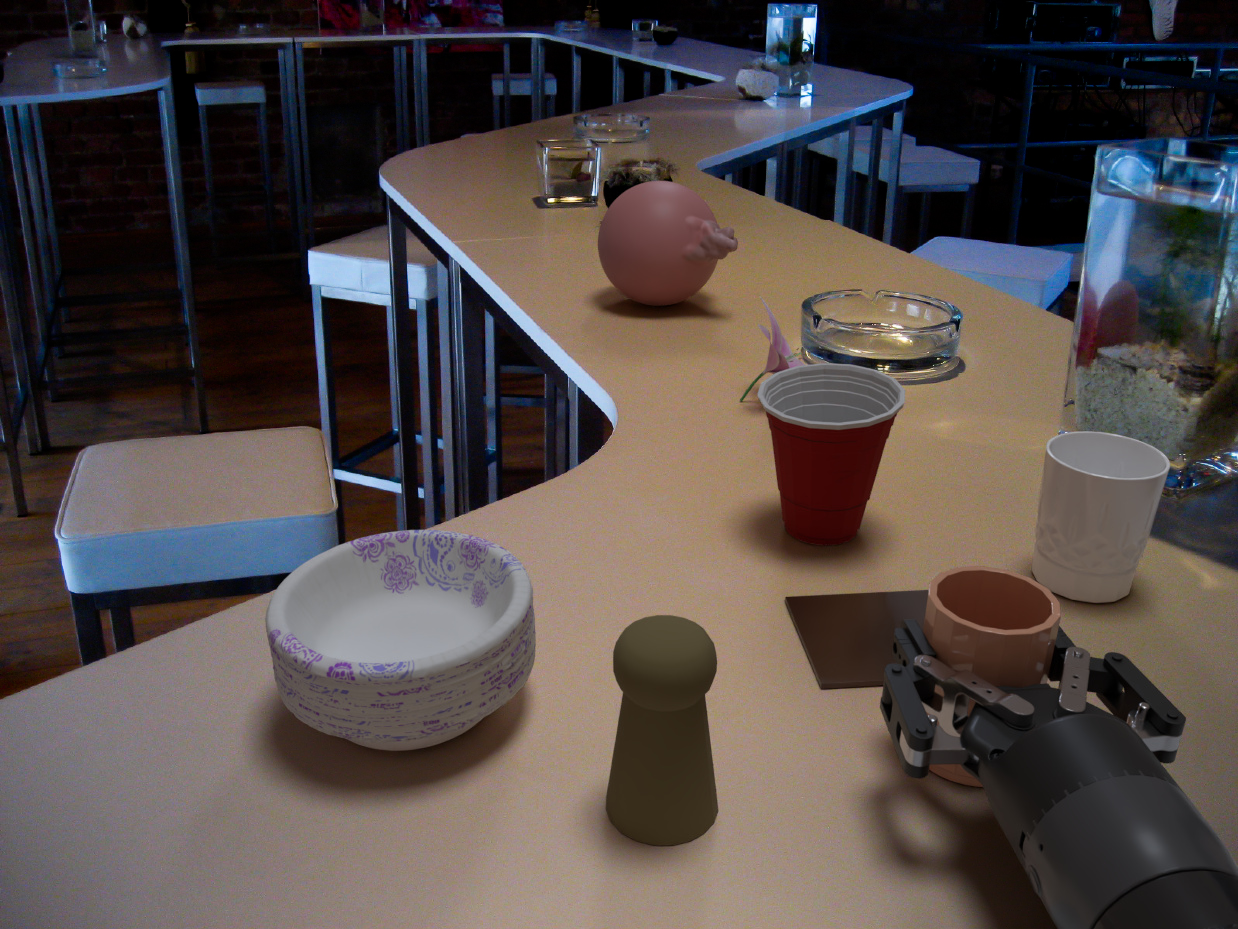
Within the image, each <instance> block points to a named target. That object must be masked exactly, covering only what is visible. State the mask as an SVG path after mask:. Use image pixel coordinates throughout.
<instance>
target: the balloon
mask: <svg viewBox="0 0 1238 929" xmlns="http://www.w3.org/2000/svg"><path fill="white" fill-rule="evenodd" d="M738 247H739V241H738V238H737V237H735V229H734V228H733V227H732V226H725V227H722V228H721V226H720V225H719V224H718V220H717V218H716V216H715V214H714V212H713V210H712V209H711V207H710V205H709V204H708V203H707V201H705V199H704V198H702V197H701V196H700V195H699V194H698V193H697V192H696V191H694V190H692V189H691V188H689V187H687V186H686V185H683V184H680V183H677V182H674V181H668V180H651V181H645V182H642V183H639V184H636V185H634V186H632V187H630V188H628V189H626V190H625V191H624V192H622V193H621V194H620V195H619V196H618V197H616V199H614V200H613V202H612V203H611V204H610V205H609V207H608V208H607V210H606V212H605V213H604V215H603V218H602V220H601V222H600V226H599V229H598V234H597V252H598V253H597V254H598V257H599V262H600V265H601V267H602V270H603V272H604V274H605V276H606V277H607V279H608V280H609V282H610V283H611V284H612V285H613V287H614V288H615V289H616V290H617V291H618V292H620V294H622V295H623V296H625V297H627V298H628V299H630V300H631V301H634V302H636V303H639V304H642V305H647V306H651V307H664V306H670V305H671V306H672V305H675V304H679V303H681V302H684V301H686V300H688V299H689V298H691V297H692V296H694V295H696V294H697V293H698V292H699V291H701V289H703V287H704V286H706V284H707V283H708V282H709V280H710V279H711V277H712V275H713V274H714V272H715V270H716V267H717V265H718V263H719V260H724V259H726V258H727V257H728V255H729V253H732V252H733V253H734V252H736V251H737V250H738Z"/></svg>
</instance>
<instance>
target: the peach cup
mask: <svg viewBox="0 0 1238 929" xmlns="http://www.w3.org/2000/svg"><path fill="white" fill-rule="evenodd" d="M927 590H928V596H927V603H926V610H925V617H924V624H923V633H924V635H925V637H926V638H927V640H928V642H929V643H930V645H931V646H932V648H933V649H934V651H935V653H936V659H937V660H938V661H940V662H942V663H943V664H945V665H946V666H948V667H950V668H951V669H953V670H955V671H956V672H961V671H962V670H969V671H971V672H972V673H974V674H976V675H977V676H979V677H981V678H982V679H984V680H986V681H987V682H989V683H990V684H992V685H994V686H1010V687H1025V686H1029V685H1033V684H1046V683H1048V681H1049V679H1048V676H1049V671H1050V666H1051V661H1052V656H1053V652H1054V647H1055V642H1056V637H1057V632H1058V628H1059V626H1060V622H1061V619H1062V618H1061V617H1062V612H1061V603H1060V601H1059V600H1058V598H1057V597H1056V596H1055V595H1054V593H1053V592H1051V591H1050V590H1049V589H1048V588H1046V587H1044V586H1043V585H1042V584H1040V583H1039V582H1038V581H1037V580H1035V579H1033V578H1031V577H1029V576H1026V575H1023V574H1020V573H1017V572H1015V571H1012V570H1008V569H1005V568H998V567H992V566H985V565H971V566H957V567H954V568H950V569H948V570H945V571H941V572H939V573H938V574H937V575H936V576H935V577H934V578H932V579H931V581H929V584H928V589H927ZM935 692H936V693H938V694H939V695H941V696H942V697H944V692H943V690H942V688H940V687H939V686H937V685H935ZM975 703H976V702H975V701H974V700H972V699H971V698H970V701H969V707H968V717H969V715H970V713H971V711H972V709H973V707H974V705H975ZM926 713H927V712H926ZM927 715H930V714H929V713H927ZM937 724H938V725H939V722H938V721H937ZM939 726H940V725H939ZM929 771H931V772H932V773H933V774H936V775H937V776H939V777H941V778H942V779H943V778H944V779H946V780H948V781H950V782H954V783H957V784H960V785H965V786H970V787H978V788H979V787H980V788H983V786H982V784H981V783H980V782H979V781H978V780H977V779H976V778H975V777H973V776H972V775H970V774H969V773H968V772H966V771H965V770H964V769H963V768H962V766H961V765H960V764H940V765H929Z"/></svg>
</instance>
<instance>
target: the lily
mask: <svg viewBox="0 0 1238 929" xmlns="http://www.w3.org/2000/svg"><path fill="white" fill-rule="evenodd" d="M759 298H760V300H761V302H762V304H763V306H764V309H765V311H766V312H767V316H768V318H769V322H770V327H771V333H770V331H769V329H767V327H765V326H764V325H762V324H759V323H758V324H757V327H758V328H759V330H760V331H761V332H762V333H763V335H764V336H765V337H766V339H767V340H768V342H769V348H768V355H767V359H766V365H765V368H764V370H763V371H762V372H761V373H760V374H759V375H757V377H756V378H754V380H753V381H752V382H750V384H749V386H748V387H747V388H746V390H745V392H744V393H743V394H742V396H741V397H740V399H739V401H740V402H743V401H744V400H745V398H746V397H747V395H748V394H749V393H750V391H751V390H752V388H753V387H754V386H755V384H756V383H758V382H759V380H760V379H761V378H762V377H764V376H765V375H766V374H771V375H773V374H775V373H777V372H780V371H783V370H786V369H790V368H793V367H796V366H803V365H805V363H804V362H803V361H802V359H803V357H798V356H806V353H804V351H801V352H799V353H797V352H798V350H799V349H800V347H797V348H796V351H794V352H793V351H792V348H791V346H790V344H789V342H788V340H787V339H786V338H785V335H783V334H782V330H781V327H780V324H779V323H778V320H777V318H776V316H775V315H774V313H773V311H772V310H771V308H770V307H769V305H768V304H767V303H766V301H765V300H764V299H763V297H762V296H759ZM771 337H772V340H771ZM771 341H772V342H771Z"/></svg>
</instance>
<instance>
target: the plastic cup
mask: <svg viewBox="0 0 1238 929" xmlns="http://www.w3.org/2000/svg"><path fill="white" fill-rule="evenodd" d="M906 390H907V389H905V388H904V387H903V385H902V384H901V383H900V382H899V381H898V380H897V379H896V378H895V377H892V376H890V375H889V374H886V373H884V372H882V371H879V370H877V369H874V368H869V367H865V366H860V365H855V364H848V363H827V362H826V363H825V362H822V363H814V364H813V363H812V364H804V365H803V366H796V367H793V368H790V369H786V370H783V371H780V372H777V373H775V374H771V375H770V376H769V377H767V378H766V379H765V380H763V381H762V382H761V383H760V385H759V388H758V390H757V391H758V392H757V394H756V396H757V399H758V401H759V403H761V406H762V407H763V409H764V411H765V416H766V419H767V422H768V428H769V430H770V433H771V434H770V436H771V444H772V450H773V460H774V466H775V467H774V468H775V473H776V474H775V475H776V484H777V490H778V491H779V498H780V499H779V500H780V509H781V519H782V521H783V527H784V529H785V530H786V532H787V534H788V535H790V536H791V537H793V538H794V539H796V540H797V541H800V542H803V543H805V544H809V545H815V546H822V547H823V546H825V547H826V546H827V547H828V546H839V545H842V544H845V543H849V542H850V541H852V540H853V539H854V538H855V537H856V536H857V534H858V531H859V530H860V528H861V525H862V521H863V518H864V515H865V510H866V508H867V504H868V501H869V500H870V498H871V495H872V492H873V488H874V485H875V482H876V478H877V475H878V470H879V467H880V464H881V461H882V458H883V454H884V451H885V447H886V444H887V440H888V439H889V436H890V433H891V430H892V427H893V426H894V423H895V420H896V417H897V416H898V413H899V412H900V411H901V410H902V409H904V406H905V403H906Z"/></svg>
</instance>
